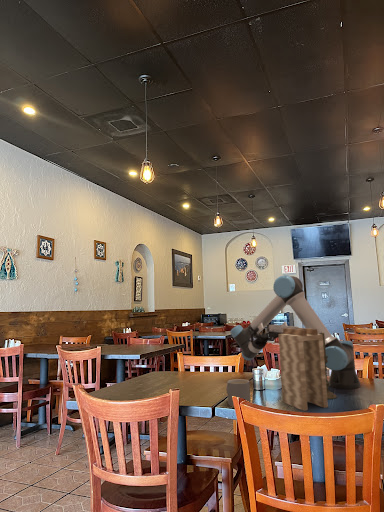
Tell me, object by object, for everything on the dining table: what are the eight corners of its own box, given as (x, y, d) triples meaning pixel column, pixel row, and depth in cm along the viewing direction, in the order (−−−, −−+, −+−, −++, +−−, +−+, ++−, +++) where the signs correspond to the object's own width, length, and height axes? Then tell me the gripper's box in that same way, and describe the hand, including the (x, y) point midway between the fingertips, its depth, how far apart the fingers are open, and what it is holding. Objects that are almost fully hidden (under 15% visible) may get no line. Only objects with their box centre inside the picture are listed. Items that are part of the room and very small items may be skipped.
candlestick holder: (320, 393, 187) (316, 330, 191) (339, 396, 181) (334, 330, 185) (313, 397, 180) (308, 331, 184) (333, 400, 174) (327, 332, 178)
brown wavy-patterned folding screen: (282, 401, 175) (278, 328, 179) (305, 398, 179) (300, 327, 183) (303, 410, 160) (298, 330, 164) (328, 407, 164) (322, 329, 167)
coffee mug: (254, 405, 170) (253, 382, 171) (234, 408, 167) (232, 384, 168) (241, 399, 183) (239, 377, 184) (221, 401, 179) (220, 379, 181)
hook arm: (267, 331, 197) (266, 324, 197) (273, 331, 198) (272, 324, 198) (292, 334, 175) (292, 326, 175) (299, 334, 176) (298, 326, 177)
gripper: (280, 348, 211) (298, 330, 195) (238, 351, 203) (253, 333, 187) (275, 335, 215) (293, 316, 199) (234, 338, 207) (249, 319, 191)
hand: (274, 324), depth 193 cm, fingers open, 13 cm apart
